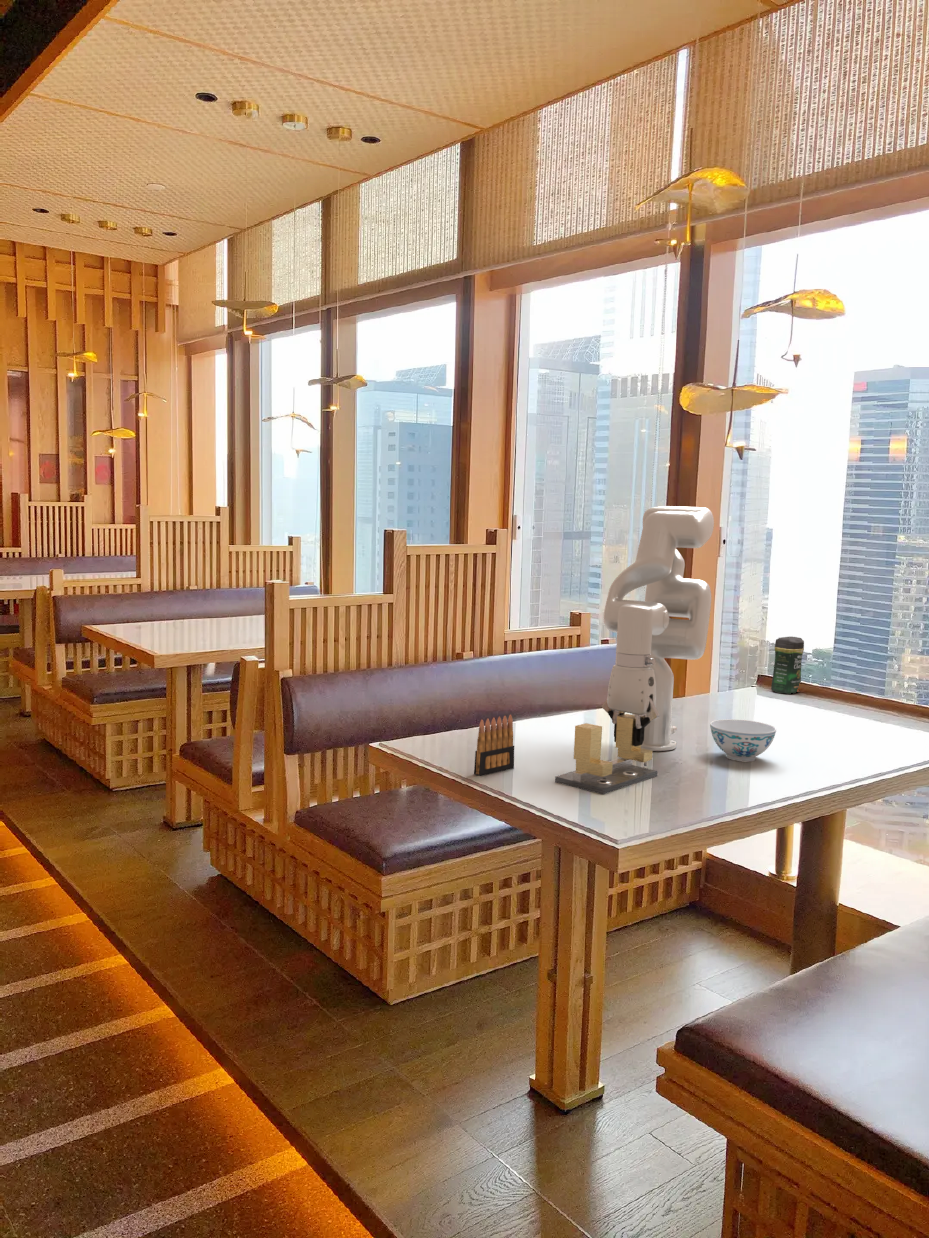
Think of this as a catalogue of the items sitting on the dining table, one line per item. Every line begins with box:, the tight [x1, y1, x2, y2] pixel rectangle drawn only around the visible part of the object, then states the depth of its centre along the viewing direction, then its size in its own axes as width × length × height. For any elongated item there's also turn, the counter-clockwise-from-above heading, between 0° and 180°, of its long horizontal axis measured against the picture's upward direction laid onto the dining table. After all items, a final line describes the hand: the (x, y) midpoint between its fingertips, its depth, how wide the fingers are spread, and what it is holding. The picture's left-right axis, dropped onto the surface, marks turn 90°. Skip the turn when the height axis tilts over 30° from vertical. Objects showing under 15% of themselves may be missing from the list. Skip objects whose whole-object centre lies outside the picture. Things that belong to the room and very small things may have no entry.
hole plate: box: [554, 722, 658, 795], centre depth 209 cm, size 21×12×12 cm, turn 139°
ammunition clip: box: [473, 714, 515, 777], centre depth 212 cm, size 11×2×12 cm, turn 134°
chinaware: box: [709, 718, 777, 763], centre depth 232 cm, size 15×15×8 cm
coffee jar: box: [770, 636, 805, 695], centre depth 325 cm, size 10×8×19 cm
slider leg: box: [615, 713, 654, 767], centre depth 216 cm, size 4×7×10 cm, turn 49°
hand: (628, 742), depth 217 cm, fingers closed on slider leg, 4 cm apart
